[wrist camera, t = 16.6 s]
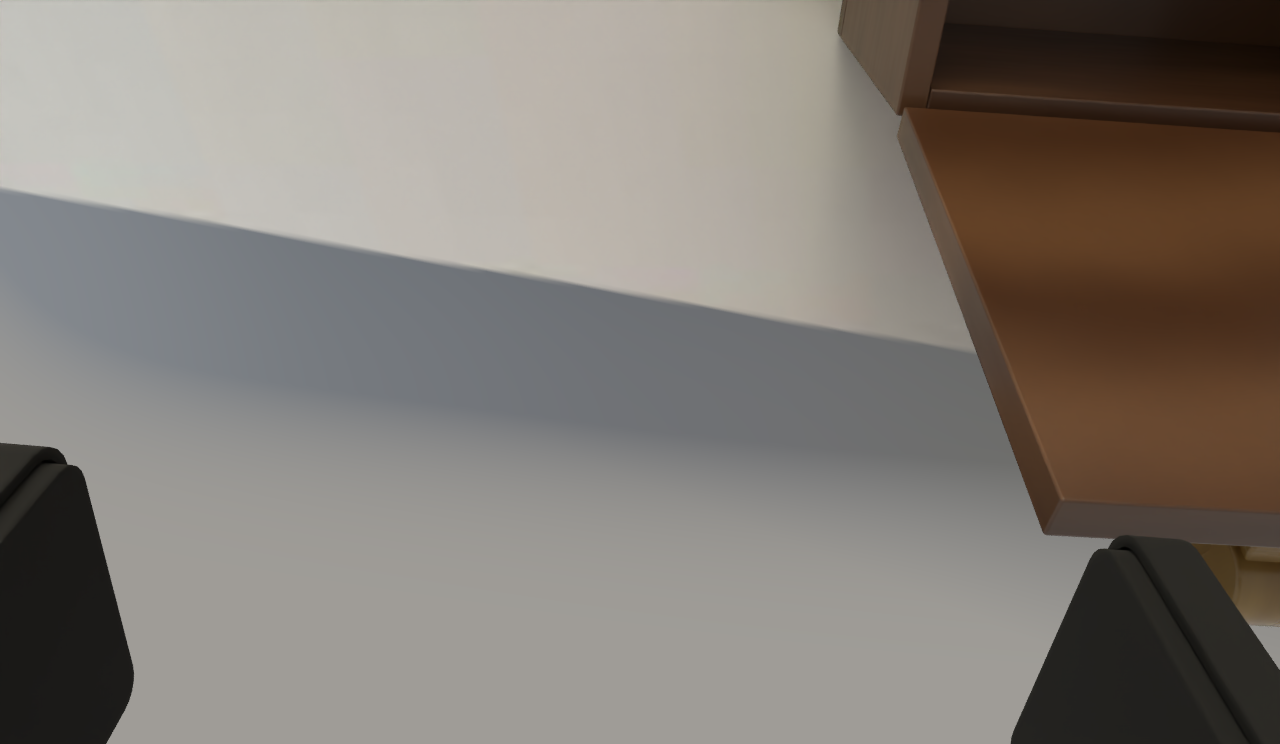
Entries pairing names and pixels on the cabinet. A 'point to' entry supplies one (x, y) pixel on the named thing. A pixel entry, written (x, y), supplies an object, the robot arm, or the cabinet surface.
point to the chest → (1076, 58)
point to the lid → (1123, 321)
